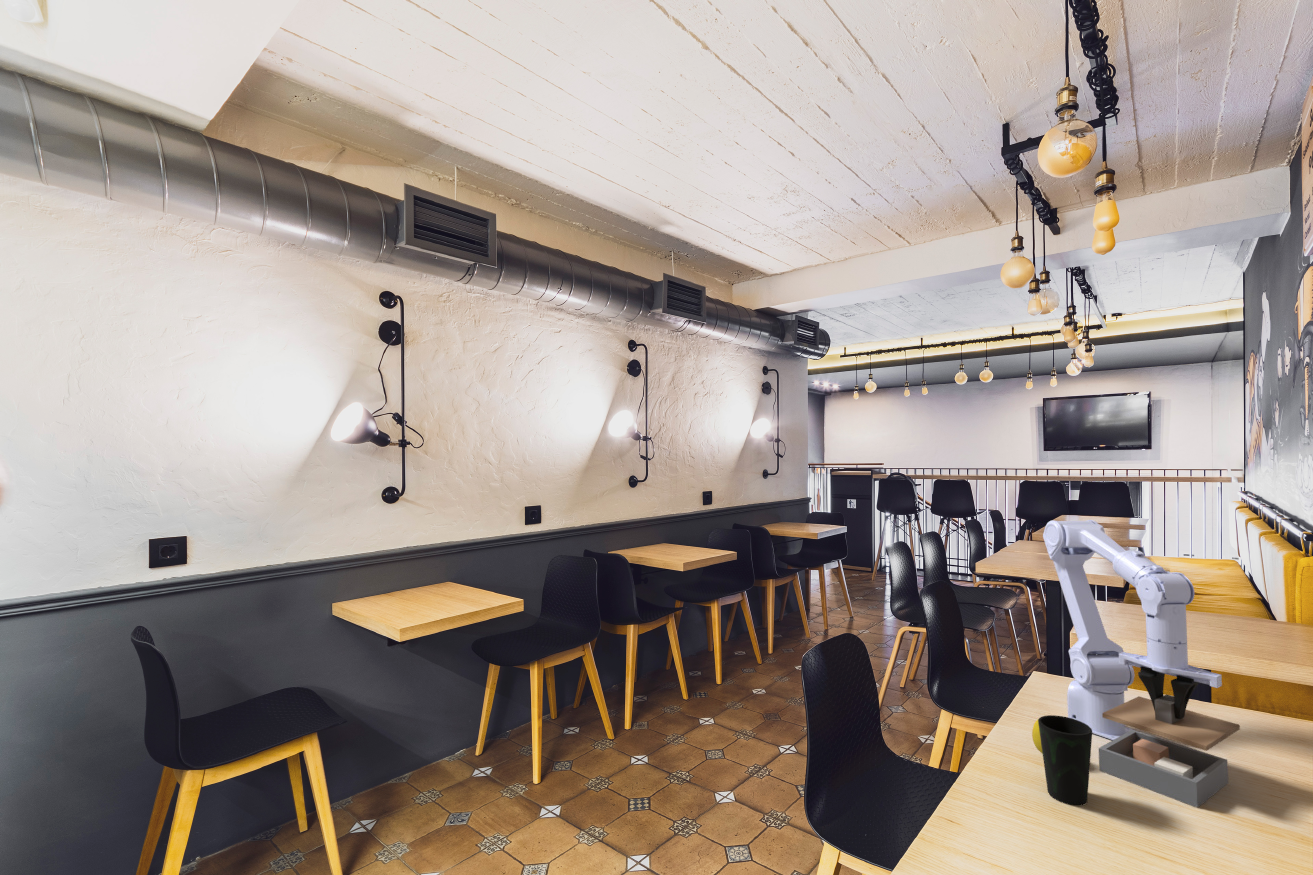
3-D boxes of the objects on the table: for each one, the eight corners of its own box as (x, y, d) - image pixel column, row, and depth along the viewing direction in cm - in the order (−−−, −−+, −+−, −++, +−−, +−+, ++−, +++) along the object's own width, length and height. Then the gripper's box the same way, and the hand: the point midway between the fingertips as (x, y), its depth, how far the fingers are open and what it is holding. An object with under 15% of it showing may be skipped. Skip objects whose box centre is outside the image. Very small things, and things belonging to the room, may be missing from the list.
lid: (1102, 717, 112) (1101, 694, 113) (1139, 700, 120) (1138, 678, 120) (1206, 750, 100) (1205, 724, 100) (1239, 729, 107) (1238, 704, 107)
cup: (1085, 787, 105) (1083, 718, 105) (1102, 812, 98) (1099, 737, 98) (1035, 780, 107) (1032, 712, 108) (1047, 804, 100) (1044, 731, 100)
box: (1099, 770, 111) (1098, 748, 111) (1133, 750, 118) (1132, 729, 118) (1197, 807, 99) (1196, 782, 99) (1228, 782, 106) (1227, 759, 106)
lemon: (1073, 767, 112) (1071, 723, 112) (1040, 764, 113) (1038, 721, 113) (1059, 752, 117) (1058, 711, 117) (1028, 750, 118) (1026, 709, 118)
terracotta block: (1133, 760, 112) (1132, 744, 112) (1142, 754, 114) (1142, 738, 114) (1160, 769, 109) (1159, 752, 109) (1169, 763, 111) (1168, 747, 111)
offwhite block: (1155, 780, 105) (1154, 762, 106) (1164, 773, 108) (1163, 756, 108) (1183, 790, 102) (1183, 772, 102) (1193, 783, 104) (1192, 766, 104)
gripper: (1110, 633, 115) (1112, 705, 114) (1209, 654, 102) (1212, 735, 102) (1127, 627, 118) (1130, 697, 118) (1225, 646, 106) (1228, 725, 105)
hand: (1169, 714), depth 110 cm, fingers closed on lid, 2 cm apart
